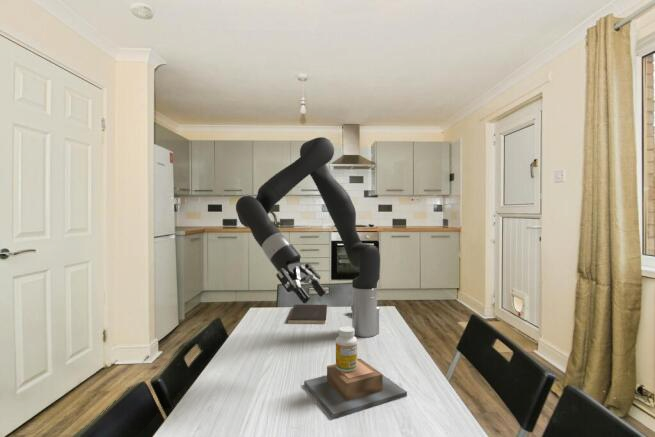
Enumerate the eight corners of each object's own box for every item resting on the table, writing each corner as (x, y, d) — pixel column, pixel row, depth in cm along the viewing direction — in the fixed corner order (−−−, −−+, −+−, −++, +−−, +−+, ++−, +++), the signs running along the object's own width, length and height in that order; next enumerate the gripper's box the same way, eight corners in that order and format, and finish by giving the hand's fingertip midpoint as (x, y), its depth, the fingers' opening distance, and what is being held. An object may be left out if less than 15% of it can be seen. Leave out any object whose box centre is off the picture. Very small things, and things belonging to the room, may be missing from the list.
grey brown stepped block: (369, 368, 92) (369, 350, 92) (406, 395, 78) (406, 374, 78) (304, 384, 83) (304, 364, 83) (333, 418, 69) (333, 394, 69)
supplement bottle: (337, 362, 85) (337, 324, 85) (358, 363, 84) (358, 326, 84) (333, 371, 79) (334, 331, 80) (355, 373, 78) (356, 333, 78)
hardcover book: (327, 309, 155) (327, 304, 155) (326, 325, 132) (326, 319, 132) (293, 309, 155) (293, 304, 155) (286, 324, 132) (286, 319, 132)
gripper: (272, 245, 84) (310, 294, 79) (302, 241, 97) (336, 284, 91) (256, 264, 87) (292, 313, 81) (287, 258, 99) (320, 300, 94)
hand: (315, 297), depth 86 cm, fingers open, 8 cm apart
